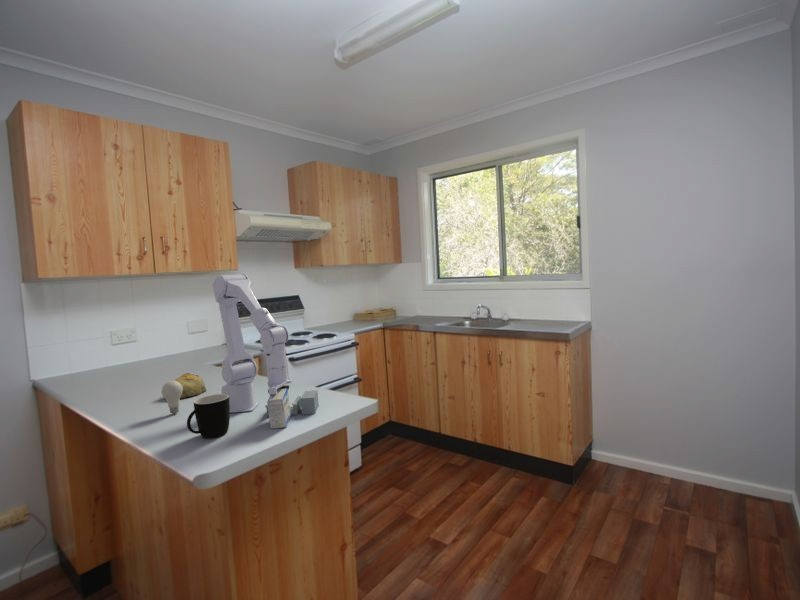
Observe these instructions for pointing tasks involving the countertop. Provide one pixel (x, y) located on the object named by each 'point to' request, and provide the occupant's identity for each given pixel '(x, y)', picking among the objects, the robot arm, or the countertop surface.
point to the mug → (211, 415)
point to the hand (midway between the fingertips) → (280, 411)
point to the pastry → (191, 385)
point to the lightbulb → (172, 395)
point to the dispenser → (304, 403)
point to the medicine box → (279, 409)
